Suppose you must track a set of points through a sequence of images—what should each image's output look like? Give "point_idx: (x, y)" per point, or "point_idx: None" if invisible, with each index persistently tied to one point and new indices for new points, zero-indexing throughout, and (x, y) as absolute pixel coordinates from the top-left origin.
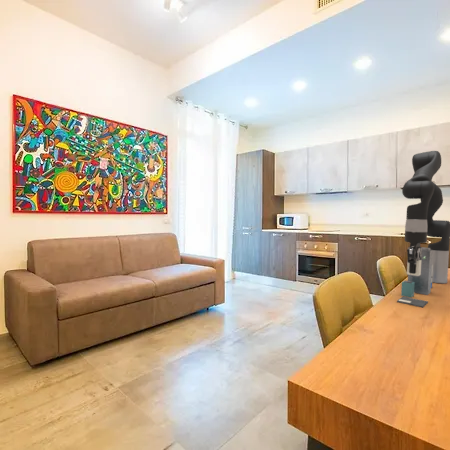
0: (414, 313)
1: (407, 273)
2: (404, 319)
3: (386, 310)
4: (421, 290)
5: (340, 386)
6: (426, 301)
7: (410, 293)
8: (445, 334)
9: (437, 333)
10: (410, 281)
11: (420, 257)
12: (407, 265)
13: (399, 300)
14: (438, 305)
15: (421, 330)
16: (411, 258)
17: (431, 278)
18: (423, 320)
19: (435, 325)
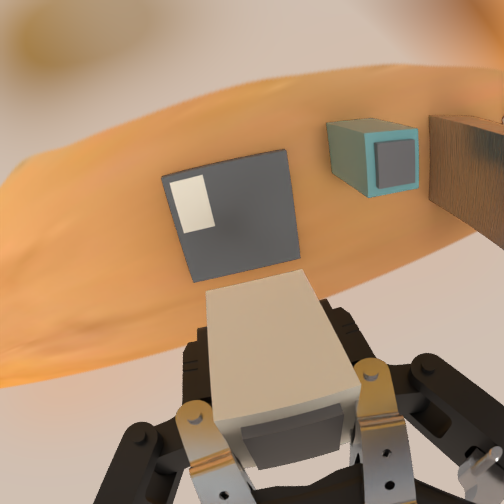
0: (86, 295)
1: (208, 300)
2: (13, 304)
3: (15, 229)
4: (440, 180)
5: None
6: (290, 257)
7: (340, 171)
8: (40, 381)
9: (28, 372)
10: (408, 172)
11: (414, 426)
12: (209, 360)
13: (173, 185)
14: None
15: (6, 351)
16: (303, 430)
17: None
18: (59, 334)
19: (61, 360)
